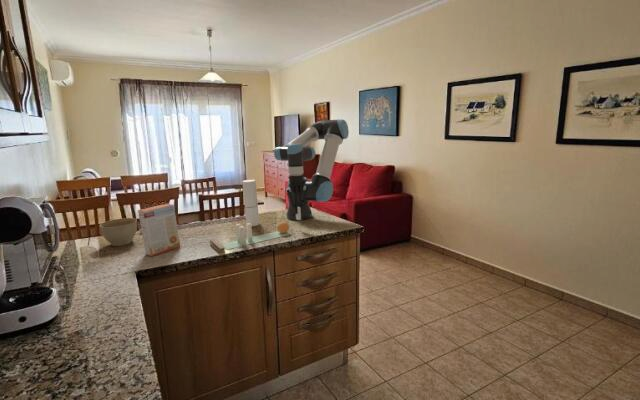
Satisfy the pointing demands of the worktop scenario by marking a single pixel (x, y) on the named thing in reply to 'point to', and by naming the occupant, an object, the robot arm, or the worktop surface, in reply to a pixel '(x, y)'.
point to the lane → (255, 239)
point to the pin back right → (238, 232)
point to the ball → (283, 227)
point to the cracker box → (159, 229)
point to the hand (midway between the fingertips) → (298, 219)
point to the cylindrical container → (250, 202)
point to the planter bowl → (119, 231)
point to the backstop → (217, 246)
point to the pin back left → (242, 235)
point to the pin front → (249, 232)
